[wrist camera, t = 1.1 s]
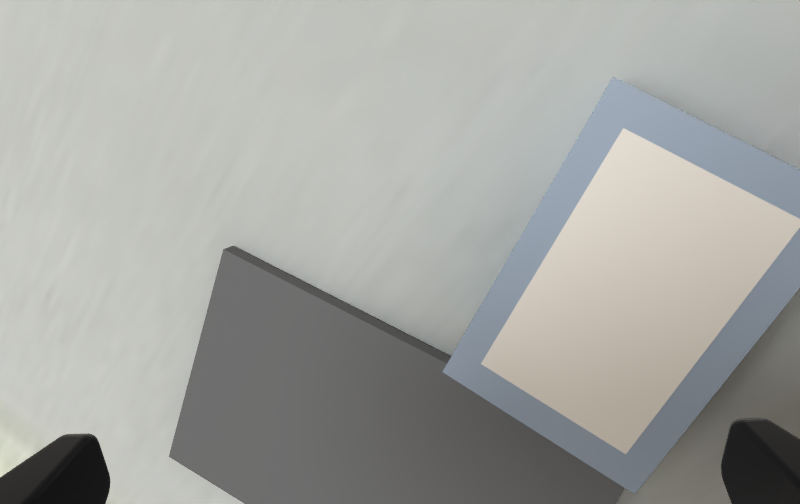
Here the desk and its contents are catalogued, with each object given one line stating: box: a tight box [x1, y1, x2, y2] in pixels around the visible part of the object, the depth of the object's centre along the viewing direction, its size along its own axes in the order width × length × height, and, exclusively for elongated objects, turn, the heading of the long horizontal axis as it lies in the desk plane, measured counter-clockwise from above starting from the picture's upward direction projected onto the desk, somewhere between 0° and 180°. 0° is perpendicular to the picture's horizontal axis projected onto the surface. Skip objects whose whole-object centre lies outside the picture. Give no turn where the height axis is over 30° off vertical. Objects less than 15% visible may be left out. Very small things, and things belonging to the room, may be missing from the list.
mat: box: [169, 246, 624, 504], centre depth 24 cm, size 16×10×1 cm, turn 69°
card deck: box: [443, 77, 800, 494], centre depth 18 cm, size 6×9×4 cm, turn 153°
